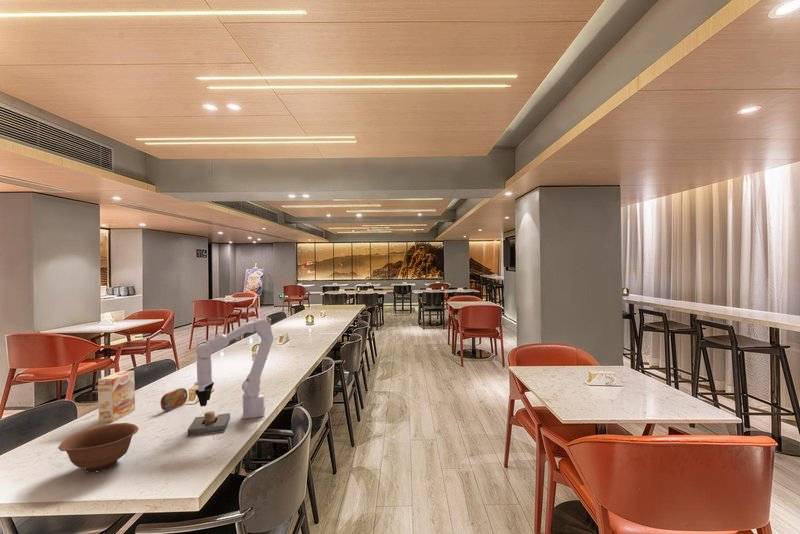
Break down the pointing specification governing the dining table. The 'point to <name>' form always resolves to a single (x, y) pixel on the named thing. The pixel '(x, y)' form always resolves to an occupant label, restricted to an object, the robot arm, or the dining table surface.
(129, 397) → the coffeecake box
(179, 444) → the dining table surface
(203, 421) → the plate
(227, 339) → the robot arm
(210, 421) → the peg
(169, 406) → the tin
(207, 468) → the dining table surface
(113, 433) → the bowl
